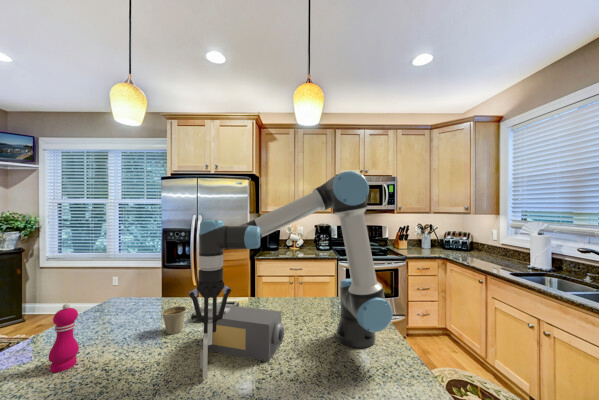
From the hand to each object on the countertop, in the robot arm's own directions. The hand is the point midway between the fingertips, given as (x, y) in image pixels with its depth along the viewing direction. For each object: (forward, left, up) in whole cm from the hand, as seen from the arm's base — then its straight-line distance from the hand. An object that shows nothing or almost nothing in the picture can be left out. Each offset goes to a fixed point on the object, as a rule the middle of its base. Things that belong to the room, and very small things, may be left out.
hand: (209, 342), depth 80 cm
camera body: (-5, -16, -9) cm, 18 cm away
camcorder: (+22, -39, -9) cm, 45 cm away
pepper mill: (+47, +11, -9) cm, 49 cm away
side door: (+3, -1, -8) cm, 8 cm away
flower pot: (+31, -19, -9) cm, 37 cm away
